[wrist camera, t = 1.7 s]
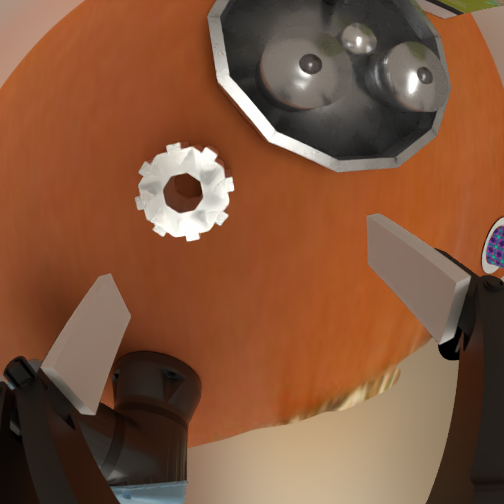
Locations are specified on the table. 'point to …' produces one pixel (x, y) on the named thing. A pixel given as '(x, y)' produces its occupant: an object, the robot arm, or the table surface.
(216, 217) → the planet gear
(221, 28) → the tray
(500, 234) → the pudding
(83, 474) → the robot arm
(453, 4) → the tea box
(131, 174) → the table surface
